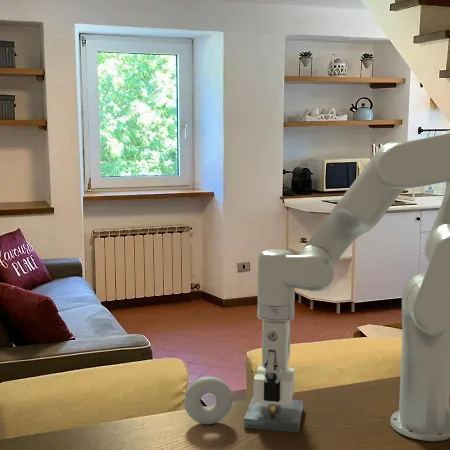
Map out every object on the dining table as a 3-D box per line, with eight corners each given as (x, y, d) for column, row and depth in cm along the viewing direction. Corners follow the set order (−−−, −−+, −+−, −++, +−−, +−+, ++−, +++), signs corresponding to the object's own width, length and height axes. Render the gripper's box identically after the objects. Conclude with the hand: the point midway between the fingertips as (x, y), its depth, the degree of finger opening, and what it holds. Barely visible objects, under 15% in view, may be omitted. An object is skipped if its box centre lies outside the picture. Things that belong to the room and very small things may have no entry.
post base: (302, 409, 136) (303, 380, 135) (298, 432, 125) (299, 401, 124) (252, 405, 138) (252, 376, 137) (244, 427, 127) (244, 397, 127)
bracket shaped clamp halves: (294, 390, 134) (294, 368, 133) (290, 405, 127) (291, 382, 126) (258, 387, 135) (259, 365, 135) (253, 402, 128) (253, 379, 127)
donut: (231, 418, 132) (231, 372, 130) (233, 425, 128) (233, 378, 127) (183, 421, 130) (183, 375, 129) (184, 428, 127) (184, 381, 126)
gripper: (290, 324, 119) (288, 412, 122) (297, 300, 136) (295, 378, 139) (250, 321, 121) (249, 408, 123) (263, 298, 138) (262, 375, 140)
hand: (274, 391), depth 131 cm, fingers closed on bracket shaped clamp halves, 7 cm apart
